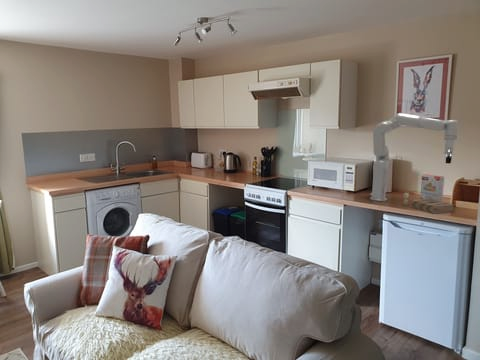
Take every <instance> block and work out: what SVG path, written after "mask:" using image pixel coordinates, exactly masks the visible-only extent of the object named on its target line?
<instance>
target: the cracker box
mask: <svg viewBox="0 0 480 360" xmlns="http://www.w3.org/2000/svg"><path fill="white" fill-rule="evenodd" d="M444 183H445V176H443V175H435V174H428V173H427V174H422V175H421V182H420V194H419V200H420V199H433V200H437V201H441V202H443V198H444V197H443V194H444V186H445V184H444Z"/></svg>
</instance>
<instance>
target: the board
mask: <svg viewBox="0 0 480 360" xmlns="http://www.w3.org/2000/svg"><path fill="white" fill-rule="evenodd" d="M410 208H412V209H416V210H419V211H423V212H426V213H431V214H433V215H436V214H445V213H444V212H446V213H453V212H454V204H452V203H449V202H444V201H442V202H441V201H437V200H433V199H420V198H419V199H413V200H411V201H410Z"/></svg>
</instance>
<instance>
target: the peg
mask: <svg viewBox="0 0 480 360" xmlns="http://www.w3.org/2000/svg"><path fill="white" fill-rule="evenodd" d="M409 195H410V193H409V192H404V193H403V206H405V207H408V206H409V199H410V198H409V197H410V196H409Z"/></svg>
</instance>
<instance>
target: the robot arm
mask: <svg viewBox="0 0 480 360" xmlns="http://www.w3.org/2000/svg"><path fill="white" fill-rule="evenodd" d="M402 126H406V127H412V128H417V129H424V130H425V129H426V130H431V131H436V132H440V131H444V136H443V137H444V139H443V140H444V141H445V144H444V153H443V154H444V155H446V156H445V164H451V163H452V155H453V154H454V153H453V152H454V148H455V141H457V140H458V139H457V138H458V130H459V129H458V127H459V121H458V120H456V119H448V120H444V119H436V118H429V117H425V116H422V115H417V114H411V113H404V112H398V113H396V114H395V116H393V117H392V118H390V119H388V120H386V121H382V122H380V123H378V124H377V125H376V126H375V127H374V129H373V132H372V133H373V134H372V139H373V141H372V144H373V145H372V146H373V155H374V156H375V161H374V162H373V166H372V172H373V173H372V175H373V177H372V192H371V193H369V195H370V197H369V200H372V201H376V202H377V201H378V202H385V201H388V197H386V192H387V190H386V189H387V170H388V168H389V167H390V166H389V165H390V156H389V154H390V153H389V152H390V151H389V147H388V146H387V145H386V136H385V135H386V133H390V132H392V131H394V130H396V129H398V128H400V127H402Z"/></svg>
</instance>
